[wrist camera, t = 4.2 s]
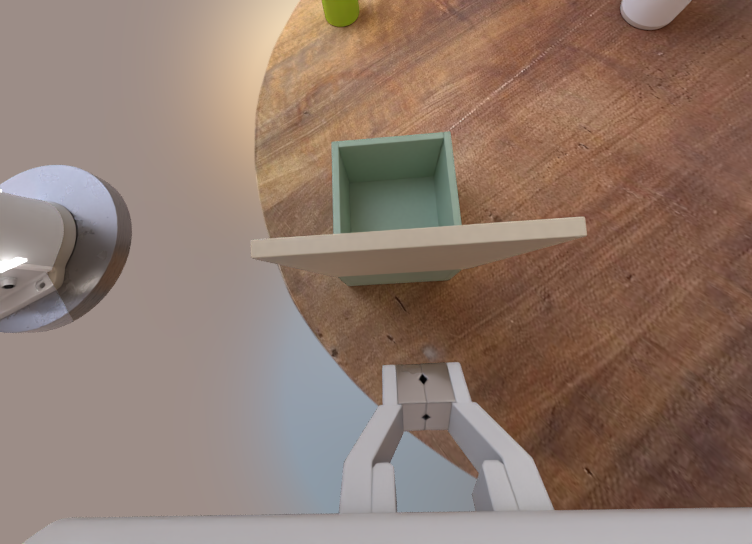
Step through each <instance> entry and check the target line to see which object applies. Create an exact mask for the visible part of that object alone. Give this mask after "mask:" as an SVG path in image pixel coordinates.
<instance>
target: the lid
mask: <svg viewBox="0 0 752 544" xmlns="http://www.w3.org/2000/svg"><path fill="white" fill-rule="evenodd" d="M585 236H587V231H586V223H585V217H570V218H556V219H542V220H527V221H513V222H499V223H484V224H470V225H456V226H442V227H427V228H413V229H399V230H384V231H370V232H356V233H341V234H327V235H313V236H298V237H284V238H270V239H258V240H257V239H256V240H251V258H253V259H257V260H261V261H266V262H270V263H275V264H279V265H283V266H287V267H292V268H296V269H301V270H305V271H309V272H314V273H318V274H323V275H327V276H331V277H344V276H360V275H376V274H392V273H408V272H425V271H441V270H457V269H469V268H473V267H476V266H480V265H484V264H487V263H491V262H494V261H498V260H502V259H505V258H509V257H513V256H516V255H520V254H523V253H527V252H531V251H534V250H538V249H542V248H545V247H549V246H552V245H556V244H560V243H563V242H567V241H571V240H574V239H578V238H581V237H585Z"/></svg>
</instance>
